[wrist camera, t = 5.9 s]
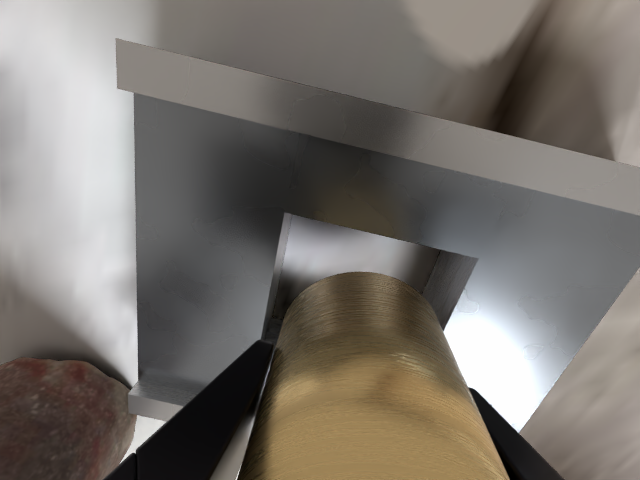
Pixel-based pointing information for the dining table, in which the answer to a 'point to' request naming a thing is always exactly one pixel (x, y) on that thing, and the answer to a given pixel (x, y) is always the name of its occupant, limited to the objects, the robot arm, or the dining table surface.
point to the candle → (61, 421)
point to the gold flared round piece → (366, 392)
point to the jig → (359, 224)
